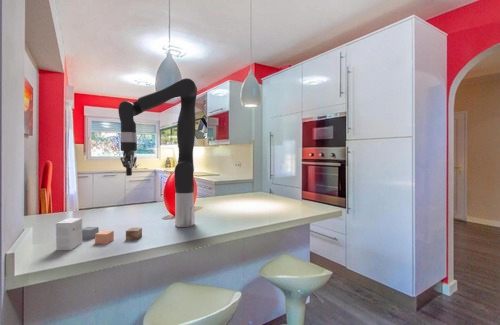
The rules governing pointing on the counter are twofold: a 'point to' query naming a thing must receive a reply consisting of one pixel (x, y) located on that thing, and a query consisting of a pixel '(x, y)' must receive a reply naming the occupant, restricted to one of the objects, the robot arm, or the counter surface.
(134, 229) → the walnut block
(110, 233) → the terracotta block
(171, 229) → the counter surface
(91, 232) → the grey block
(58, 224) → the small box
